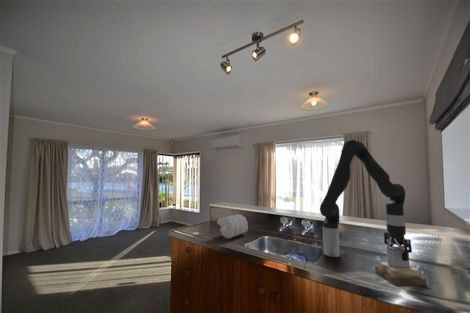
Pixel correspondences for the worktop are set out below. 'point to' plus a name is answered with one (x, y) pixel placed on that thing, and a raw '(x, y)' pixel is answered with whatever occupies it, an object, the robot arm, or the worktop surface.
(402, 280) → the plinth
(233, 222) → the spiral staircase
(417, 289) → the worktop surface
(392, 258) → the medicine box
